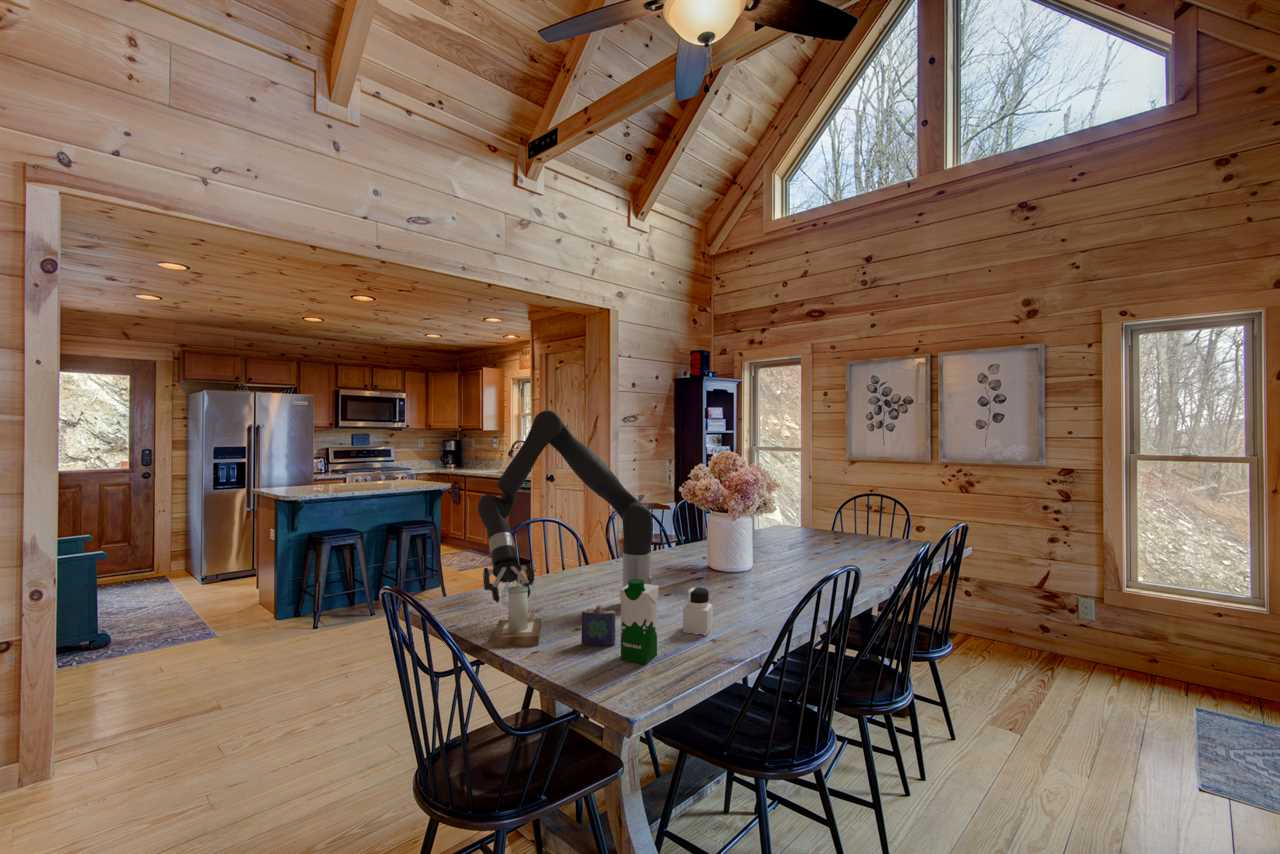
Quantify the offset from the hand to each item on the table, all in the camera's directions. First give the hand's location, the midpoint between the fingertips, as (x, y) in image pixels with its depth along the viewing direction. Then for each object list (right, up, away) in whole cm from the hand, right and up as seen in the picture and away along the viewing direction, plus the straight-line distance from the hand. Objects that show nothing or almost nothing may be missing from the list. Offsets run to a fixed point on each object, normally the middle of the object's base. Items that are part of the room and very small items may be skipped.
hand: (512, 599), depth 169 cm
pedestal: (+2, -9, -4) cm, 10 cm away
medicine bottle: (+53, -10, +2) cm, 54 cm away
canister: (+2, -7, -5) cm, 9 cm away
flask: (+25, -10, -9) cm, 28 cm away
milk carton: (+36, -10, -18) cm, 42 cm away
